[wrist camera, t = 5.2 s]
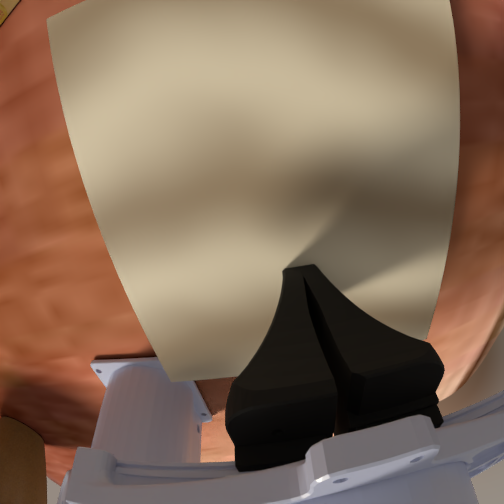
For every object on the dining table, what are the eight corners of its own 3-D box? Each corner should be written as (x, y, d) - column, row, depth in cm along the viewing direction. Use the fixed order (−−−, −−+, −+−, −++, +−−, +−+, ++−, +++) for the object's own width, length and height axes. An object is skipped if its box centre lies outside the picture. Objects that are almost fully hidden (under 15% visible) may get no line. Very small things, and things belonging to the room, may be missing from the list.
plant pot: (43, 416, 29) (12, 528, 15) (78, 462, 36) (63, 548, 22) (-37, 386, 27) (-73, 475, 13) (5, 437, 35) (-17, 512, 21)
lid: (410, 328, 18) (427, 360, 16) (180, 366, 19) (176, 404, 16) (418, -19, 8) (455, -31, 6) (70, 23, 9) (35, 17, 6)
